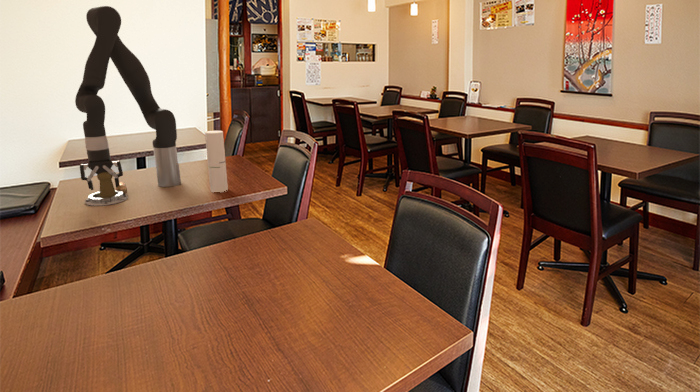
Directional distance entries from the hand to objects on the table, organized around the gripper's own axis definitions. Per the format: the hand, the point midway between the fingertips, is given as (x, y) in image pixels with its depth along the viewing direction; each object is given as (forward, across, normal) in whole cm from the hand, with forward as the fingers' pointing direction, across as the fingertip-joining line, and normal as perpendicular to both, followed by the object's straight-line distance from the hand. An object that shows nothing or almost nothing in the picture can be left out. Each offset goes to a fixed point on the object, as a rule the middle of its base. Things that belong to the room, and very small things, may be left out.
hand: (104, 188), depth 171 cm
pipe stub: (+5, -6, -9) cm, 12 cm away
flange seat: (+5, 0, 0) cm, 5 cm away
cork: (+4, -1, 0) cm, 5 cm away
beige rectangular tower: (+5, -42, +6) cm, 43 cm away
